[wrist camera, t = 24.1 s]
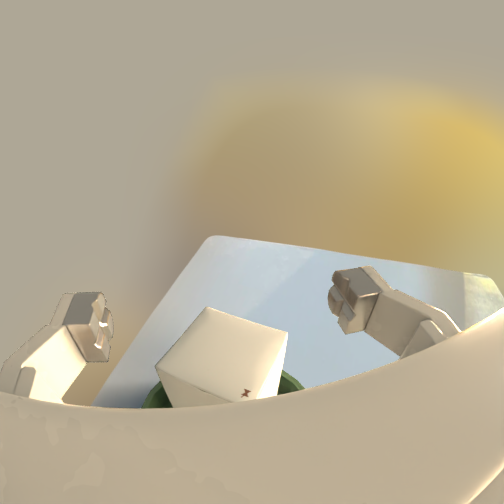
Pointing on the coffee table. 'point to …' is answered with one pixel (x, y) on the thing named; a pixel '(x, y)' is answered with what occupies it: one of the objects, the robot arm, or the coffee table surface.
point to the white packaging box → (222, 361)
